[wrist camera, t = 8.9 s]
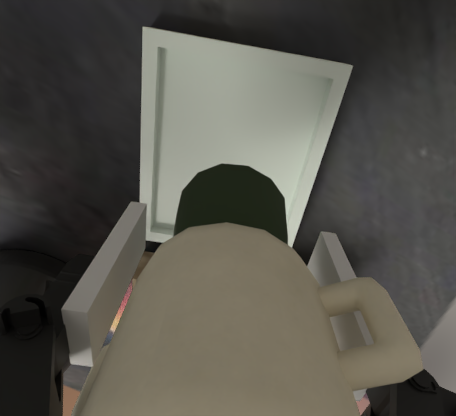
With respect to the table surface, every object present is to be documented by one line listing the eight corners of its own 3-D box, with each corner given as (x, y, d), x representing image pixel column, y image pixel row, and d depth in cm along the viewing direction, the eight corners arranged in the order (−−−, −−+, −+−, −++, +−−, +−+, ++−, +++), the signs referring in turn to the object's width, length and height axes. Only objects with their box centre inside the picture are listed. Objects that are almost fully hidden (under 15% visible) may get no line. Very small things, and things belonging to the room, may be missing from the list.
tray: (144, 227, 30) (139, 239, 28) (150, 26, 21) (142, 26, 19) (284, 247, 30) (287, 260, 29) (344, 63, 22) (353, 65, 20)
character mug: (179, 274, 21) (107, 556, 10) (122, 189, 18) (-82, 462, 6) (336, 226, 18) (486, 528, 7) (304, 117, 15) (484, 355, 4)
